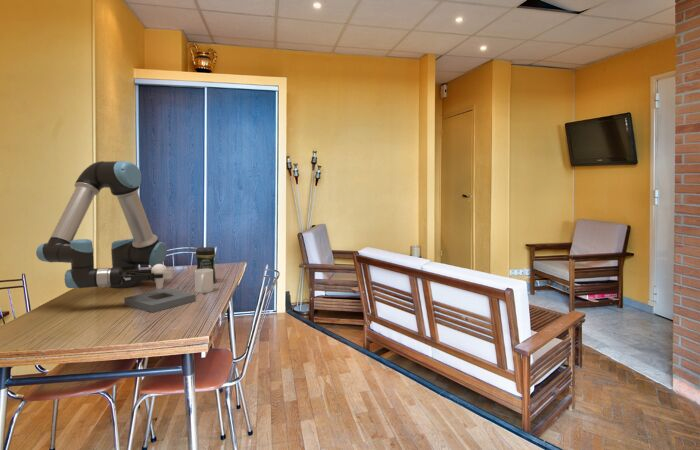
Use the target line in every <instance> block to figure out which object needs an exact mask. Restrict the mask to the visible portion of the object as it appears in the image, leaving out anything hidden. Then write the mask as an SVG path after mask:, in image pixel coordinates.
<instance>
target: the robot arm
mask: <svg viewBox="0 0 700 450" xmlns="http://www.w3.org/2000/svg"><path fill="white" fill-rule="evenodd" d="M142 177H143V176H142V172H141V170H140V169H139V167H138V166H137V165H136V164H135V163H134V162H131V161H125V160H119V161H117V160H116V161H115V160H114V161H113V160H112V161H103V160H102V161H96V162H94V163H91V164H90V165H88V166H87V167H86V168H85V169H83V170H82V172H81V173H80V175H79V176H78V177H77V179H76V181H75V183H74V188H75V189H74V191H73V193H72V195H71V196H70V198H69V201H68V203H67V204H66V206H65V208H64V211H63V212H62V214H61V216H60V218H59V220H58V222H57V223H56V226H55V227H54V230H53V231H52V232H51V233H52V234H51V236H50V237H49V239H48V241H47V242H44V243H41V244H40V245H38V247H37V248H36V253H35V254H36V257H37V259H38V260H39V261H41V262H46V263H65V264H69V263H70V265H71V267H70V269H67V270H66V271H65V273H64V285H65V287H66V288H68V289H87V288H102V289H104V288H105V287H110V288H115V289H120V288H121V289H123V288H133V287H137V286H140V285H143V284H144V282H149V281H150V282H151V281H152V282H155V279H164V280H166V279H173V276H174V268H167V272H157V273H155V274H154V273H151V269H152V268H151V269H139V265H140V266H152V267H153V266H154V265H156V264H162V263H164V261H165V260H166V257H167V254H168V247H167V244H166V243H165V242H164V241H163V242H162V241H159V238H158V236H157V235H156V234H154V233H153V231H152V227H151V226H150V223H149V220H148V217H147V214H146V211H145V209H144V205H143V203H142V201H141V198H140V195H139V190H140V185H141V183H142ZM105 188H109V190H110V192H111V194H112V195H113V196H114V197H117V200H118V204H119V205H120V207H121V210H122V213H123V215H124V218H125V220H126V222H127V226H128V228H129V230H130V233H131V236H132V238H127V239H120V240H114V241H112V242H111V248H110V249H111V250H110V251H111V265H112V266H111V267H112V268H110V267H98V268H95V265H94V264H95V263H94V247H93V241H92V239H88V238H79V239H75V236H76V235H77V232H78V230H79V228H80V227H81V224H82V222H83V220H84V218H85V216H86V214H87V213H88V210H89V208H90V206H91V204H92V202H93V199H94V198H95V196H97V195H99V193H100V192H101V190H102V189H105Z"/></svg>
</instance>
